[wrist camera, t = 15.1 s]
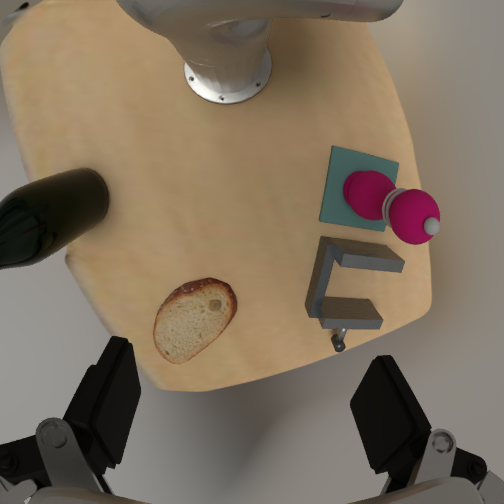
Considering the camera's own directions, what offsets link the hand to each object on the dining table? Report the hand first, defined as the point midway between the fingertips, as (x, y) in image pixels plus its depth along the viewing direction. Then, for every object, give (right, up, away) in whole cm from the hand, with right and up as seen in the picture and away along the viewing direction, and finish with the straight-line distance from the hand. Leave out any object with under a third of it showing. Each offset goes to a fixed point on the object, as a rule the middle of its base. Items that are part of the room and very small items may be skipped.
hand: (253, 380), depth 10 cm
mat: (+17, +15, +32) cm, 39 cm away
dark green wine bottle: (-28, +14, +31) cm, 44 cm away
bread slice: (-11, -8, +41) cm, 43 cm away
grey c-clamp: (+16, -2, +39) cm, 42 cm away
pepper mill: (+17, +15, +31) cm, 39 cm away
